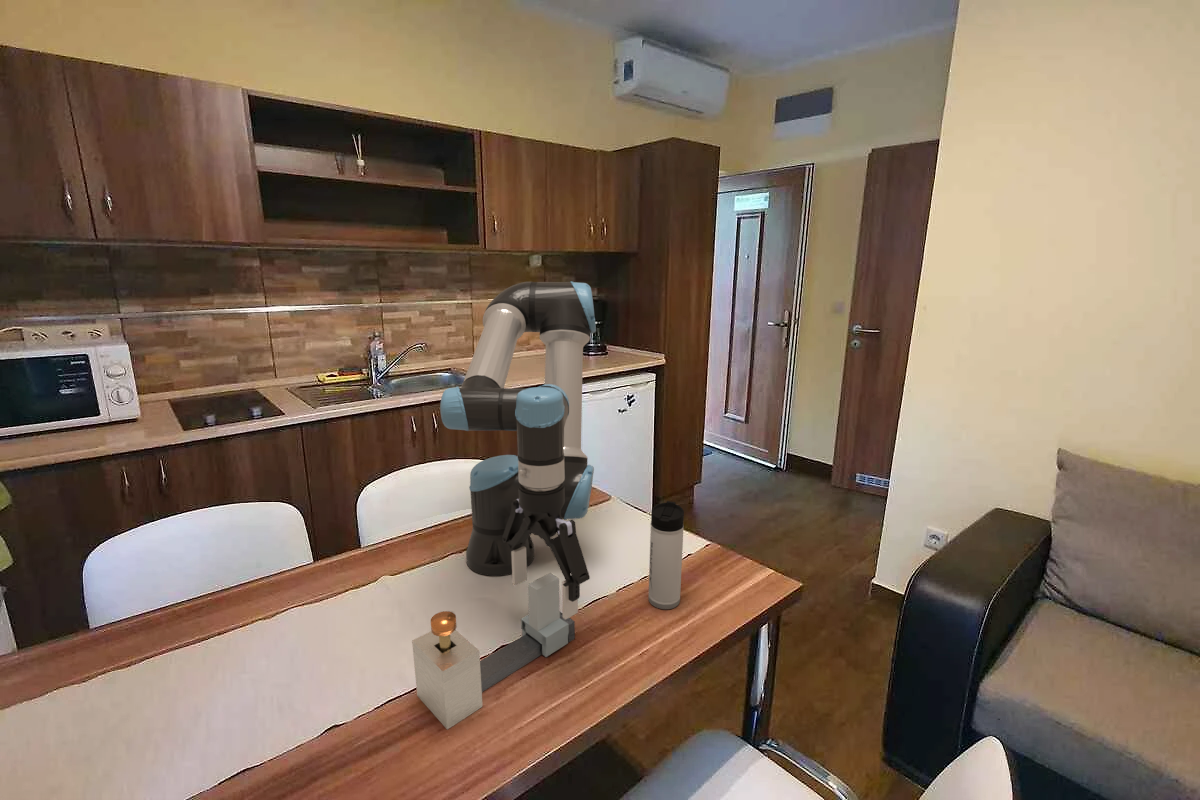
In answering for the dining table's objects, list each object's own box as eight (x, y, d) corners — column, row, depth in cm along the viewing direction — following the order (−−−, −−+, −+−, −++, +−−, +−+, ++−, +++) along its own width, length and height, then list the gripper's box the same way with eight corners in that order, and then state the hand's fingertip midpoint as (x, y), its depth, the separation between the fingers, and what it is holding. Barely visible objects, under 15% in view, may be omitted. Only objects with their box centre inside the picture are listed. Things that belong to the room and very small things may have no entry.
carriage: (521, 638, 99) (519, 578, 96) (543, 625, 102) (542, 567, 99) (546, 657, 94) (545, 595, 91) (568, 643, 97) (568, 583, 94)
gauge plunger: (430, 668, 84) (425, 618, 81) (451, 656, 86) (447, 608, 84) (442, 680, 81) (438, 630, 79) (463, 668, 84) (460, 618, 81)
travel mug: (682, 593, 113) (687, 503, 108) (676, 612, 107) (680, 518, 102) (653, 587, 115) (656, 498, 110) (644, 606, 109) (647, 512, 104)
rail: (417, 695, 86) (412, 640, 84) (547, 619, 104) (546, 572, 102) (447, 729, 80) (442, 671, 78) (580, 642, 98) (580, 593, 96)
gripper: (479, 468, 96) (484, 577, 102) (576, 513, 79) (576, 641, 84) (514, 458, 102) (517, 562, 107) (612, 498, 85) (610, 620, 90)
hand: (543, 597), depth 96 cm, fingers open, 13 cm apart
